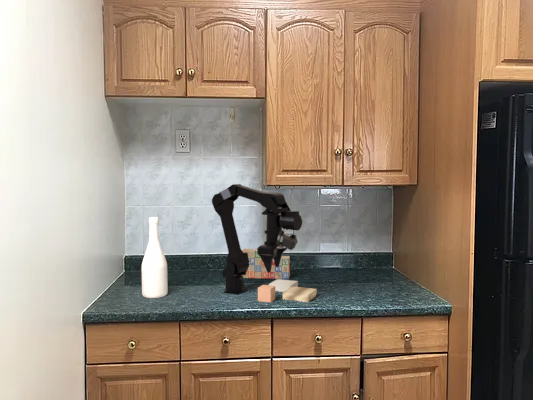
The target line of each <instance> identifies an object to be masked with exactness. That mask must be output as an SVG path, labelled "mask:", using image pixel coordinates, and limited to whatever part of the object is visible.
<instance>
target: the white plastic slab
mask: <svg viewBox="0 0 533 400" xmlns="http://www.w3.org/2000/svg"><path fill="white" fill-rule="evenodd" d="M268 285H272V286H275V292H280V293H283V292H284V291H286V290H287V289H289V288H290V287H292V286H294V287H299V281H298V280H290V279H275V280H272V282H270V283H268Z"/></svg>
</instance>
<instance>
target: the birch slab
mask: <svg viewBox="0 0 533 400" xmlns="http://www.w3.org/2000/svg"><path fill="white" fill-rule="evenodd" d="M317 293H318V290H317V288H311V287H301V286H298V287H294V286H292V287H290V288H289V289H287V290H286V291H284V292H282V300H284V299H285V301H286V300H287V301H292V300H294V302H301V301H302V303H309V302H310V300H311V301H312V300H313V299H314V298H315V297H317V296H318V295H317ZM316 295H317V296H316Z"/></svg>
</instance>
